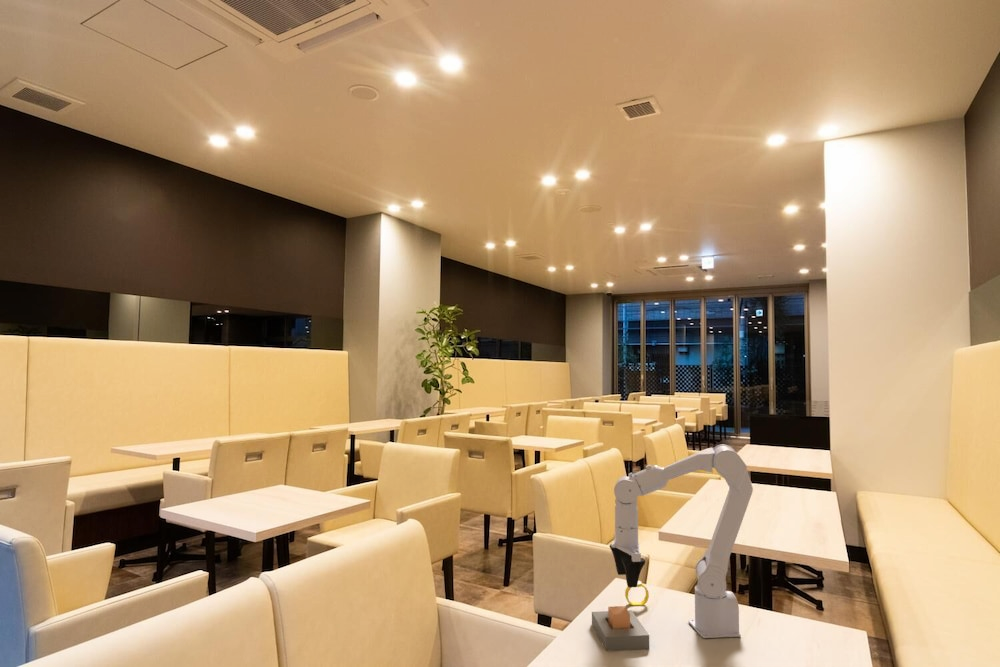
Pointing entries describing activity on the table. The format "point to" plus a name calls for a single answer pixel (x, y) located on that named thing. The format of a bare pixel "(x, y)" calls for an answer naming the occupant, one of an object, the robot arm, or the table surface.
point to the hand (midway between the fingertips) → (626, 580)
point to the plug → (618, 617)
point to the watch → (637, 602)
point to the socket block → (620, 633)
